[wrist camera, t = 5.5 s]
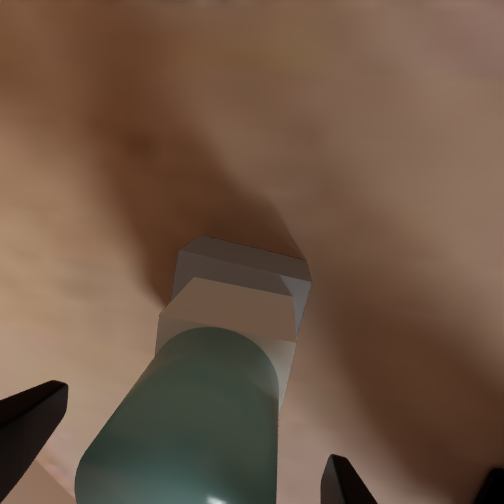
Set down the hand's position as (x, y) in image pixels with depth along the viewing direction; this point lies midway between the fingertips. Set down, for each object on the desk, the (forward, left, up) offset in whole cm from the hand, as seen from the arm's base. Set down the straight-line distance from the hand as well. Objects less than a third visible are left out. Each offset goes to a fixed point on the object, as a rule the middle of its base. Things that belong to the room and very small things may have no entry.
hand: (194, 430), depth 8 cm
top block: (0, 0, -6) cm, 6 cm away
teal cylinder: (0, 0, -2) cm, 2 cm away
